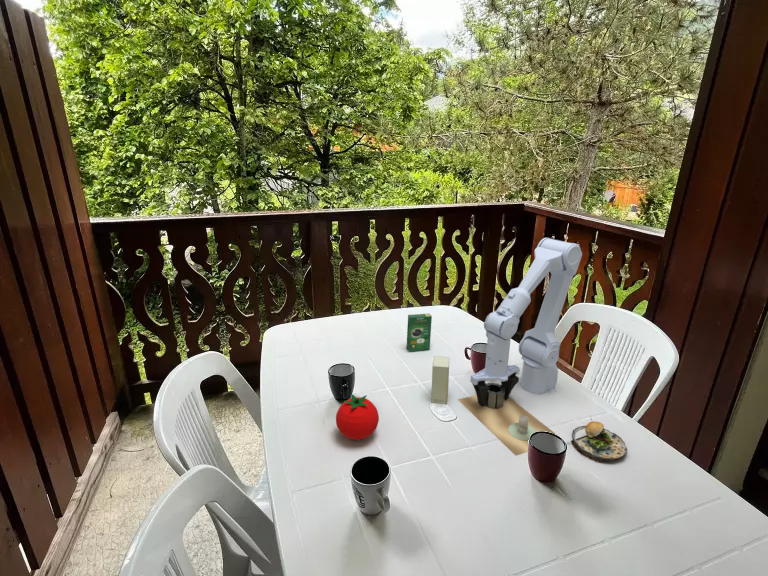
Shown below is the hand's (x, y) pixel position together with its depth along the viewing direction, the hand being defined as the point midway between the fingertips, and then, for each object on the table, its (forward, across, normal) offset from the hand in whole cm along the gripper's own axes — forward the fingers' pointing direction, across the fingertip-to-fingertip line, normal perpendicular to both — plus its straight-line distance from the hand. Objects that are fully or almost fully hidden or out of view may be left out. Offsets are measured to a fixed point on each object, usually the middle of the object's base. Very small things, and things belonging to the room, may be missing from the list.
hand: (492, 401), depth 112 cm
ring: (0, 0, 0) cm, 0 cm away
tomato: (+2, -38, +3) cm, 38 cm away
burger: (+2, +13, -23) cm, 26 cm away
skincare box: (+2, -12, +8) cm, 15 cm away
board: (+1, -1, -7) cm, 7 cm away
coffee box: (+2, -3, +38) cm, 38 cm away
